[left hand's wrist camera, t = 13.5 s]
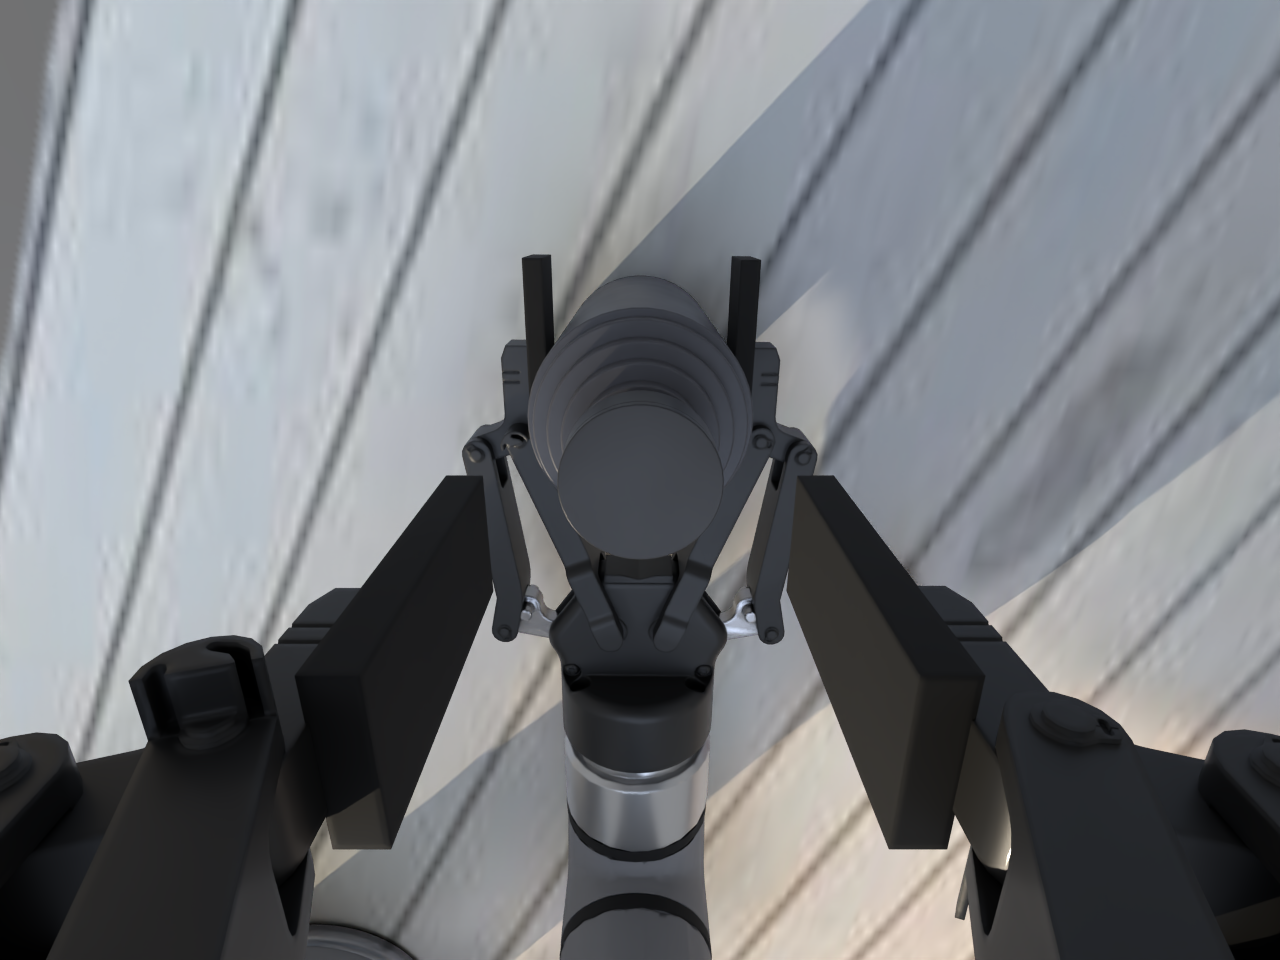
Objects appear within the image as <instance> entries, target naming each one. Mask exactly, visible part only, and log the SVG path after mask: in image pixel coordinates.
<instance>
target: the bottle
mask: <svg viewBox="0 0 1280 960" xmlns="http://www.w3.org/2000/svg"><path fill="white" fill-rule="evenodd" d="M635 390H646V391H654V392H659V393H663V394H666V395H669V396H671V397H674V398H676V399H678V400H680V401H682V402H683V403H685V404H686V405H688V406H689V407H690V408H692V409H693V410H694V411H695V412H696V413H697V414H698V415H699V416H700V417H701V418H702V420H703V421H704V422H705V424H706V425H707V427H708V429H709V430H710V432H711V434H712V437H713V439H714V442H715V445H716V448H717V451H718V454H719V457H720V460H721V464H722V468H723V475H724V488H725V487H726V486H727V485H728V484H729V483H730V482H731V480H732V479H733V477H734V476H735V474H736V473H737V471H738V470H739V468H740V466H741V464H742V462H743V460H744V458H745V456H746V453H747V450H748V447H749V444H750V439H751V434H752V428H753V405H752V398H751V393H750V389H749V385H748V382H747V380H746V377H745V374H744V372H743V370H742V368H741V366H740V364H739V362H738V361H737V359H736V358H735V356H734V355H733V353H732V352H731V350H730V349H729V347H728V346H727V345H726V343H725V342H724V340H723V339H722V337H721V336H720V335H719V333H718V332H717V330H716V329H715V327H714V326H713V325H712V323H711V322H710V320H709V319H708V317H707V316H706V314H705V313H704V312H703V310H702V309H701V307H700V306H699V305H698V303H697V302H696V301H695V300H694V299H693V298H692V297H691V296H690V295H689V294H688V293H687V292H686V291H684V290H683V289H682V288H680V287H678V286H677V285H675V284H673V283H671V282H669V281H666V280H664V279H660V278H656V277H651V276H630V277H624V278H621V279H617V280H614V281H612V282H610V283H607V284H606V285H604V286H602V287H601V288H599V289H598V290H596V291H595V292H594V293H593V294H591V295H590V296H589V297H588V298H587V300H586V301H585V302H584V303H583V304H582V306H581V307H580V308H579V310H578V311H577V313H576V314H575V316H574V317H573V318H572V320H571V321H570V323H569V324H568V326H567V327H566V329H565V330H564V331H563V333H562V334H561V336H560V337H559V339H558V340H557V342H556V343H555V344H554V346H553V347H552V349H551V350H550V352H549V353H548V355H547V356H546V357H545V359H544V360H543V362H542V364H541V366H540V368H539V370H538V372H537V374H536V377H535V379H534V382H533V385H532V388H531V393H530V397H529V404H528V429H529V435H530V439H531V444H532V447H533V450H534V453H535V456H536V458H537V460H538V462H539V464H540V466H541V468H542V470H543V471H544V473H545V474H546V476H547V477H548V479H549V480H550V482H551V483H552V484H553V485H554V486H555V487H556V489H557V490H558V488H557V476H558V468H559V464H560V460H561V457H562V454H563V451H564V448H565V445H566V442H567V439H568V437H569V434H570V432H571V430H572V429H573V427H574V425H575V424H576V422H577V421H578V420H579V418H580V417H581V416H582V415H583V414H584V413H585V412H586V411H587V410H588V409H589V408H591V407H592V406H593V405H595V404H596V403H598V402H600V401H601V400H603V399H605V398H607V397H610V396H612V395H614V394H618V393H622V392H627V391H635Z"/></svg>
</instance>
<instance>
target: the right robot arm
mask: <svg viewBox="0 0 1280 960" xmlns="http://www.w3.org/2000/svg"><path fill="white" fill-rule="evenodd" d="M522 269H523V289H524V308H525V327H526V340H511V341H510V342H509V343H507V344H506V345H505V348H504V351H503V354H502V357H501V363H502V378H503V394H504V409H505V418H504V420H502V421H500V422H497V423H495V424H492V425H483V426H481V427H480V428H478V429H477V431H476V432H475V433H474V434H473V436H472V437H471V438H470V440H469V441H468V442H467V443H466V445H465V446H464V448H463V450H462V457H463V461H464V465H465V469H466V473H467V476H483V482H484V493H485V504H486V515H487V526H488V538H489V549H490V560H491V571H492V580H493V584H494V588H495V592H496V596H497V601H496V607H495V614H494V620H493V626H492V633H493V635H494V637H495V638H496V639H498V640H499V641H502V642H509V641H512V640H514V639H515V638H516V636H517V634H518V632H520V633H526V634H531V635H537V636H542V637H547V638H549V639H550V643H551V645H552V646H553V648H554V649H555V651H556V652H557V654H558V656H559V658H560V661H561V672H562V697H563V722H564V729H565V738H564V750H565V768H566V786H567V806H568V814H569V865H568V880H567V890H566V899H565V908H564V917H563V926H562V937H561V950H560V960H712V954H711V944H710V935H709V923H708V913H707V902H706V892H705V881H704V815H705V809H706V799H707V791H708V772H709V753H710V735H709V732H710V728H711V717H712V700H713V682H714V666H715V661H716V658H717V656H718V655H719V653H720V652H721V650H722V649H723V648H724V646H725V644H726V641H727V640H728V639H734V638H740V637H746V636H752V635H759V638H760V640H761V641H762V642H763V643H766V644H776V643H778V642H779V641H781V640H782V638H783V637H784V625H783V618H782V611H781V604H780V599H781V595H782V591H783V587H784V583H785V580H786V576H787V572H788V568H789V560H790V549H791V538H792V526H793V515H794V504H795V493H796V482H797V476H813V473H814V469H815V466H816V462H817V452H816V450H815V448H814V447H813V446H812V444H811V443H810V442H809V440H808V439H807V438H806V436H805V435H804V434H803V433H802V432H801V431H800V430H799V429H797V428H794V427H792V428H789V427H786V426H783V425H781V424H779V423H777V422H776V417H775V416H776V404H777V392H778V380H779V368H780V359H779V355H778V352H777V349H776V347H775V346H774V345H772V344H771V343H770V342H755V340H756V326H757V311H758V297H759V283H760V269H761V260H759V259H756V258H753V257H750V256H732V263H731V281H730V299H729V318H728V336H727V346H728V347H729V349H730V350H731V352H732V353H733V355H734V356H735V358H736V359H737V361H738V362H739V364H740V366H741V368H742V370H743V372H744V374H745V377H746V380H747V382H748V385H749V389H750V393H751V398H752V405H753V428H752V434H751V439H750V444H749V447H748V450H747V453H746V456H745V458H744V460H743V462H742V464H741V466H740V468H739V470H738V471H737V473H736V474H735V476H734V477H733V479H732V480H731V482H730V483H729V484H728V485H727V486H726V487H725V488H724V490H723V495H722V500H721V503H720V506H719V509H718V511H717V513H716V516H715V518H714V519H713V521H712V522H711V524H710V525H709V527H708V528H707V529H706V530H705V531H704V533H703V534H702V535H701V536H700V537H698V538H697V539H696V540H695V541H694V542H692V543H691V544H690V545H688V546H687V547H685V548H683V549H681V550H679V551H677V552H675V553H673V554H672V557H671V555H667V556H663V557H659V558H654V559H627V558H622V557H618V556H614V555H605V553H604V551H602V550H600V549H598V548H596V547H594V546H593V545H592V544H590V543H589V542H587V541H586V540H585V539H584V538H583V537H581V536H580V535H579V534H578V532H577V531H576V530H575V529H574V528H573V527H572V525H571V524H570V522H569V521H568V519H567V517H566V515H565V513H564V511H563V509H562V506H561V503H560V500H559V495H558V490H557V489H556V487H555V486H554V485H553V484H552V483H551V482H550V480H549V479H548V477H547V476H546V474H545V473H544V471H543V470H542V468H541V466H540V464H539V462H538V460H537V458H536V456H535V453H534V450H533V447H532V444H531V439H530V435H529V429H528V404H529V397H530V393H531V388H532V385H533V382H534V379H535V377H536V374H537V372H538V370H539V368H540V366H541V364H542V362H543V360H544V359H545V357H546V356H547V355H548V353H549V352H550V350H551V349H552V347H553V346H554V323H553V296H552V269H551V255H530V256H526V257H523V258H522ZM508 455H510V456H511V458H512V460H513V462H514V464H515V466H516V468H517V470H518V472H519V474H520V476H521V478H522V480H523V482H524V484H525V486H526V488H527V490H528V492H529V494H530V496H531V499H532V501H533V503H534V505H535V507H536V509H537V511H538V513H539V515H540V517H541V519H542V521H543V523H544V525H545V527H546V529H547V531H548V533H549V535H550V537H551V539H552V541H553V543H554V546H555V548H556V550H557V552H558V554H559V556H560V558H561V560H562V562H563V564H564V566H565V569H566V575H567V579H568V582H569V584H570V586H571V588H572V590H571V592H570V593H569V594H568V595H567V597H566V598H565V599H564V600H563V602H562V603H561V604H560V605H559V607H558V608H557V609H556V610H552V609H550V608H548V607H547V606H546V605H545V603H544V600H543V594H542V592H541V591H540V590H539V588H538V587H537V586H536V585H530V578H531V576H530V563H529V558H528V553H527V549H526V544H525V540H524V535H523V531H522V526H521V521H520V517H519V512H518V508H517V503H516V499H515V494H514V490H513V485H512V480H511V476H510V471H509V467H508V462H507V458H506V456H508ZM769 457H771V458H773V461H772V466H771V470H770V474H769V478H768V482H767V487H766V491H765V495H764V499H763V503H762V508H761V512H760V516H759V520H758V524H757V529H756V533H755V537H754V541H753V545H752V550H751V554H750V558H749V562H748V568H747V587H741V588H740V589H739V590H738V592H737V593H736V594H735V596H734V601H733V605H732V607H731V608H730V609H728V610H727V611H724V612H721V611H720V610H719V608H718V607H717V606H716V604H715V603H714V602H713V600H712V599H711V598H710V597H709V595H708V594H707V593H706V591H705V589H706V588H707V586H708V583H709V581H710V578H711V573H712V569H713V566H714V564H715V562H716V560H717V558H718V556H719V554H720V552H721V550H722V549H723V547H724V545H725V543H726V541H727V539H728V537H729V535H730V533H731V531H732V529H733V527H734V525H735V523H736V521H737V519H738V517H739V515H740V513H741V511H742V509H743V507H744V505H745V503H746V502H747V500H748V498H749V496H750V494H751V492H752V490H753V488H754V486H755V484H756V482H757V480H758V478H759V476H760V474H761V472H762V470H763V468H764V466H765V464H766V462H767V460H768V458H769ZM305 960H413V959H412V958H411V957H410V956H409V955H407V954H406V953H405V952H404V951H402V950H401V949H399V948H398V947H396V946H395V945H393V944H391V943H389V942H387V941H386V940H383V939H381V938H379V937H377V936H374V935H372V934H369V933H366V932H363V931H359V930H356V929H351V928H347V927H341V926H333V925H309V931H308V939H307V948H306V956H305Z"/></svg>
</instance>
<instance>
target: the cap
mask: <svg viewBox="0 0 1280 960" xmlns="http://www.w3.org/2000/svg"><path fill="white" fill-rule="evenodd" d="M557 488H558V495H559V500H560V503H561V506H562V509H563V511H564V513H565V515H566V517H567V519H568V521H569V522H570V524H571V525H572V527H573V528H574V529H575V530H576V531H577V532H578V534H579V535H580V536H581V537H583V538H584V539H585V540H586V541H587V542H589V543H590V544H592V545H593V546H594V547H596V548H598V549H600V550H602V551H604V552H606V553H609V554H611V555H614V556H618V557H622V558H627V559H654V558H659V557H663V556H667V555H670V554H672V553H675V552H677V551H679V550H681V549H683V548H685V547H687V546H688V545H690V544H691V543H692V542H694V541H695V540H696V539H697V538H698V537H700V536H701V535H702V534H703V533H704V531H705V530H706V529H707V528H708V527H709V525H710V524H711V522H712V521H713V519H714V518H715V516H716V513H717V511H718V509H719V506H720V503H721V500H722V495H723V490H724V475H723V468H722V464H721V460H720V457H719V454H718V451H717V448H716V445H715V442H714V439H713V437H712V434H711V432H710V430H709V429H708V427H707V425H706V424H705V422H704V421H703V420H702V418H701V417H700V416H699V415H698V414H697V413H696V412H695V411H694V410H693V409H692V408H690V407H689V406H688V405H686V404H685V403H683V402H682V401H680V400H678V399H676V398H674V397H671V396H669V395H666V394H663V393H659V392H654V391H646V390H635V391H627V392H622V393H618V394H614V395H612V396H610V397H607V398H605V399H603V400H601V401H600V402H598V403H596V404H595V405H593V406H592V407H591V408H589V409H588V410H587V411H586V412H585V413H584V414H583V415H582V416H581V417H580V418H579V420H578V421H577V422H576V424H575V425H574V427H573V429H572V430H571V432H570V434H569V437H568V439H567V442H566V445H565V448H564V451H563V454H562V457H561V460H560V464H559V468H558V476H557Z"/></svg>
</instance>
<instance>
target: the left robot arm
mask: <svg viewBox="0 0 1280 960" xmlns="http://www.w3.org/2000/svg"><path fill="white" fill-rule="evenodd" d="M492 593H493V582H492V571H491V560H490V549H489V538H488V526H487V515H486V504H485V493H484V482H483V476H446V477H445V478H444V479H443V481H442V482H441V483H440V484H439V486H438V487H437V488H436V490H435V491H434V492H433V494H432V495H431V496H430V498H429V499H428V500H427V502H426V503H425V504H424V506H423V507H422V508H421V510H420V511H419V512H418V513H417V515H416V516H415V517H414V519H413V520H412V521H411V523H410V524H409V525H408V527H407V528H406V529H405V531H404V532H403V533H402V535H401V536H400V537H399V539H398V540H397V541H396V542H395V544H394V545H393V546H392V548H391V549H390V550H389V552H388V553H387V554H386V556H385V557H384V558H383V560H382V561H381V562H380V564H379V565H378V566H377V567H376V569H375V570H374V571H373V573H372V574H371V575H370V577H369V578H368V579H367V581H366V582H365V583H364V585H363V586H362V587H361V588H335V589H333V590H332V591H330V592H328V593H327V594H325V595H323V596H322V597H320V598H319V599H317V600H315V601H314V602H312V603H311V604H309V605H308V606H307V607H306V608H305V609H304V611H303V612H302V613H301V614H300V615H299V616H298V618H297V619H296V620H295V621H294V622H293V623H292V628H288V629H287V630H286V632H285V633H284V634H283V635H282V636H281V637H280V638H279V640H278V644H274V645H273V647H272V648H271V649H270V650H269V651H268V652H267V654H266V655H265V656H264V653H263V648H262V646H261V645H260V644H259V643H257V642H256V641H254V640H253V639H252V638H247V637H241V636H235V635H231V636H217V637H209V638H205V639H201V640H197V641H193V642H189V643H186V644H183V645H181V646H178V647H176V648H174V649H171V650H169V651H167V652H164V653H162V654H160V655H159V656H157V657H156V658H154V659H153V660H151V661H149V662H148V663H146V664H145V665H143V666H142V667H141V668H140V669H139V670H138V671H137V672H136V673H135V674H134V676H133V677H132V678H131V679H130V680H129V684H130V687H131V690H132V693H133V696H134V699H135V702H136V705H137V708H138V712H139V715H140V718H141V721H142V724H143V727H144V730H145V733H146V736H147V739H148V743H147V745H146V747H145V748H143V749H139V750H135V751H131V752H126V753H121V754H116V755H112V756H107V757H102V758H98V759H93V760H88V761H84V762H79V763H76V762H75V759H74V756H73V754H72V751H71V749H70V746H69V743H68V742H67V741H66V740H64V739H63V738H62V737H60V736H59V735H57V734H48V733H31V734H25V735H19V736H13V737H8V738H4V739H1V740H0V960H305V956H306V948H307V939H308V931H309V922H310V913H311V905H312V896H313V888H314V879H315V871H314V864H313V859H312V854H311V850H310V846H311V844H312V842H313V840H314V838H315V836H316V834H317V832H318V831H319V829H320V827H321V825H322V823H323V821H324V819H325V817H326V821H327V825H328V830H329V834H330V839H331V843H332V848H333V849H391V848H392V846H393V843H394V840H395V838H396V835H397V833H398V830H399V828H400V825H401V823H402V820H403V818H404V815H405V813H406V810H407V808H408V805H409V803H410V800H411V798H412V795H413V792H414V790H415V787H416V785H417V782H418V780H419V777H420V775H421V772H422V770H423V767H424V765H425V762H426V760H427V757H428V755H429V752H430V750H431V747H432V744H433V742H434V739H435V737H436V734H437V732H438V729H439V727H440V724H441V722H442V719H443V717H444V714H445V712H446V709H447V707H448V704H449V702H450V699H451V696H452V694H453V691H454V689H455V686H456V684H457V681H458V679H459V676H460V674H461V671H462V669H463V666H464V664H465V661H466V659H467V656H468V654H469V651H470V649H471V646H472V643H473V641H474V638H475V636H476V633H477V631H478V628H479V626H480V623H481V621H482V618H483V616H484V613H485V611H486V608H487V606H488V603H489V601H490V598H491V595H492ZM787 593H788V595H789V598H790V601H791V603H792V606H793V608H794V611H795V613H796V616H797V618H798V621H799V623H800V626H801V628H802V631H803V633H804V636H805V638H806V641H807V643H808V646H809V649H810V651H811V654H812V656H813V659H814V661H815V664H816V666H817V669H818V671H819V674H820V676H821V679H822V681H823V684H824V686H825V689H826V691H827V694H828V696H829V699H830V702H831V704H832V707H833V709H834V712H835V714H836V717H837V719H838V722H839V724H840V727H841V729H842V732H843V734H844V737H845V739H846V742H847V744H848V747H849V750H850V752H851V755H852V757H853V760H854V762H855V765H856V767H857V770H858V772H859V775H860V777H861V780H862V782H863V785H864V787H865V790H866V792H867V795H868V798H869V800H870V803H871V805H872V808H873V810H874V813H875V815H876V818H877V820H878V823H879V825H880V828H881V830H882V833H883V835H884V838H885V840H886V843H887V846H888V848H889V849H947V848H948V843H949V839H950V834H951V830H952V825H953V821H954V816H956V818H957V819H958V821H959V823H960V825H961V827H962V829H963V831H964V833H965V835H966V836H967V838H968V840H969V842H970V844H971V846H970V850H969V854H968V859H967V863H966V867H965V871H964V875H963V880H962V884H961V888H960V892H959V896H958V901H957V906H956V913H955V918H959V919H962V920H965V916H966V911H967V907H968V905H969V912H970V920H971V929H972V937H973V946H974V954H975V960H1280V736H1277V735H1274V734H1269V733H1263V732H1257V731H1251V730H1232V731H1224V732H1222V733H1221V734H1220V735H1218V736H1217V737H1215V738H1214V739H1213V741H1212V743H1211V746H1210V749H1209V751H1208V754H1207V756H1206V759H1205V760H1202V759H1197V758H1192V757H1187V756H1183V755H1178V754H1173V753H1169V752H1164V751H1159V750H1154V749H1150V748H1145V747H1141V746H1138V745H1134V743H1133V741H1132V740H1131V738H1130V737H1129V736H1128V734H1127V733H1126V732H1125V730H1124V729H1123V728H1122V726H1121V725H1120V724H1119V723H1117V722H1116V721H1115V720H1113V719H1112V718H1111V717H1109V716H1108V715H1107V714H1105V713H1104V712H1103V711H1101V710H1100V709H1097V708H1095V707H1093V706H1091V705H1089V704H1087V703H1085V702H1083V701H1081V700H1079V699H1076V698H1073V697H1069V696H1066V695H1062V694H1059V693H1055V692H1049V691H1048V690H1047V688H1046V687H1045V686H1044V685H1043V684H1042V683H1041V682H1040V680H1039V679H1038V678H1037V677H1036V676H1035V675H1034V673H1033V672H1032V671H1031V670H1030V669H1029V668H1028V667H1027V665H1026V664H1025V663H1024V662H1023V661H1022V660H1021V658H1020V657H1019V656H1018V655H1017V654H1016V653H1015V652H1014V650H1013V649H1012V648H1011V647H1010V646H1009V645H1008V644H1007V642H1003V641H1002V637H1001V635H1000V634H999V633H998V632H997V631H996V630H995V629H994V627H993V626H992V625H989V624H988V620H987V619H986V618H985V617H984V616H983V615H982V614H981V612H980V611H979V610H978V609H977V608H976V607H975V606H974V604H973V603H972V602H970V601H969V600H967V599H965V598H964V597H962V596H961V595H959V594H957V593H956V592H954V591H952V590H951V589H949V588H948V587H946V586H917V585H916V583H915V582H914V581H913V579H912V578H911V577H910V575H909V574H908V573H907V571H906V570H905V569H904V567H903V566H902V565H901V564H900V562H899V561H898V560H897V558H896V557H895V556H894V554H893V553H892V552H891V550H890V549H889V548H888V546H887V545H886V544H885V542H884V541H883V540H882V539H881V537H880V536H879V535H878V533H877V532H876V531H875V529H874V528H873V527H872V525H871V524H870V523H869V521H868V520H867V519H866V517H865V516H864V515H863V513H862V512H861V511H860V510H859V508H858V507H857V506H856V504H855V503H854V502H853V500H852V499H851V498H850V496H849V495H848V494H847V492H846V491H845V490H844V488H843V487H842V486H841V485H840V483H839V482H838V481H837V479H836V478H835V477H834V476H797V482H796V493H795V504H794V515H793V526H792V538H791V549H790V560H789V571H788V582H787Z"/></svg>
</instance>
